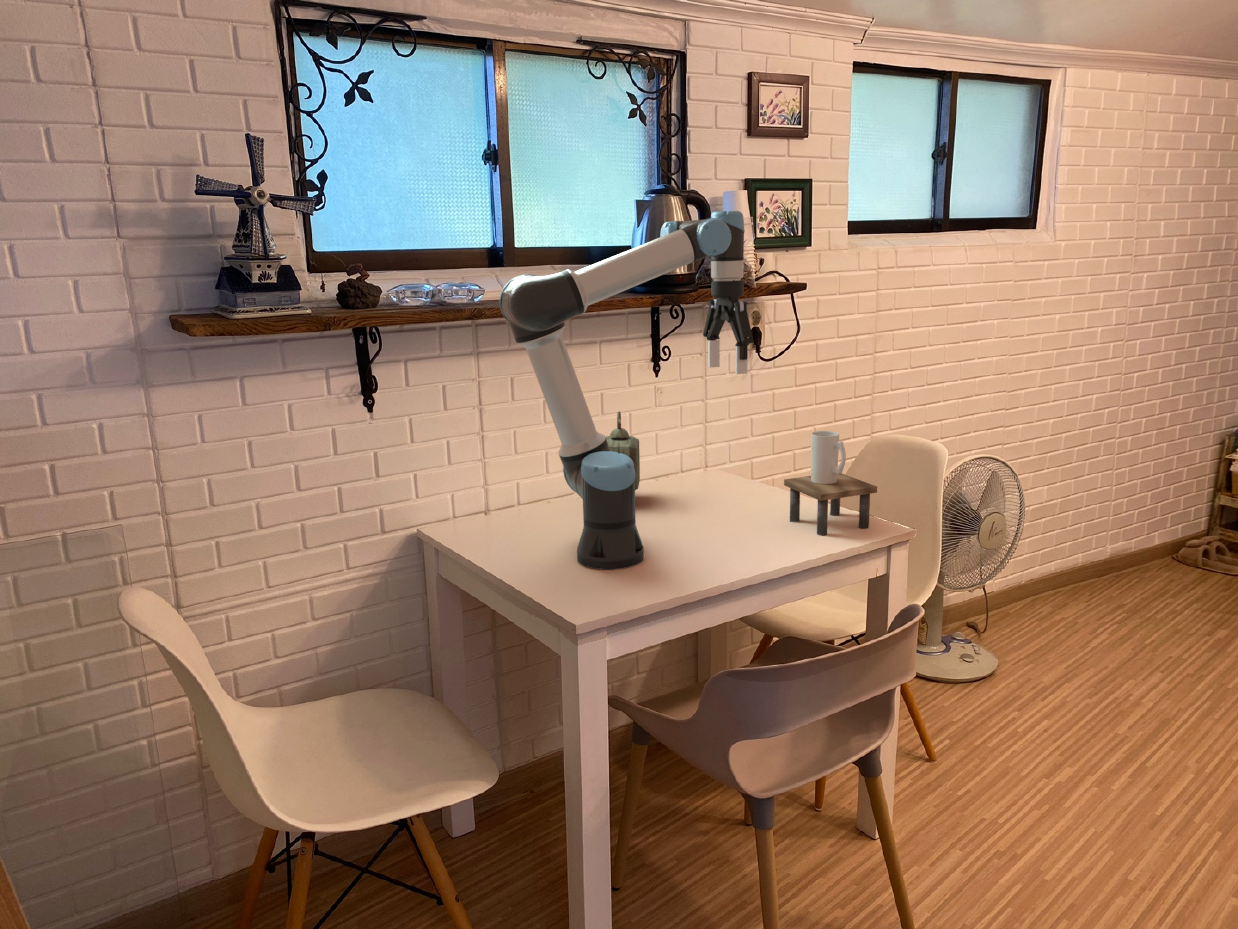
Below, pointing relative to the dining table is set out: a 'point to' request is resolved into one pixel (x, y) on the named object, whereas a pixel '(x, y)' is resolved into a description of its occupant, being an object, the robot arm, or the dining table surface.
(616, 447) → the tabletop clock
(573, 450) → the robot arm
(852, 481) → the small wooden stand
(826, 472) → the mug
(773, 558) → the dining table surface
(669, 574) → the dining table surface
